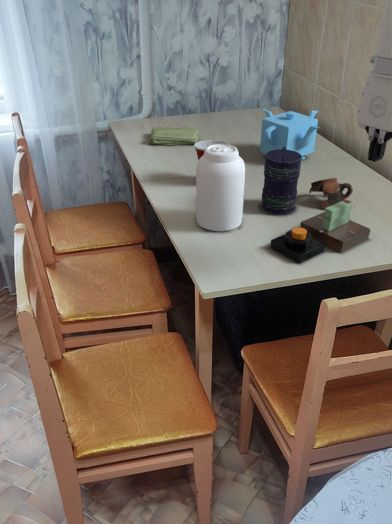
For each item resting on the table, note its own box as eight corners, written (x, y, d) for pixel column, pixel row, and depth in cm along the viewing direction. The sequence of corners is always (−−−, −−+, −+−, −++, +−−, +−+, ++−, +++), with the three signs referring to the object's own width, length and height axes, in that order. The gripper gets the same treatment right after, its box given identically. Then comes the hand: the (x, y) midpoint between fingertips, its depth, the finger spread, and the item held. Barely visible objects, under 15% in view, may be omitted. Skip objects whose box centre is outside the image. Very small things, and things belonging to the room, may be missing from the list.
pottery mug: (311, 211, 154) (307, 182, 153) (312, 212, 163) (308, 184, 162) (355, 203, 151) (351, 173, 150) (353, 204, 160) (349, 176, 159)
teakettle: (259, 166, 180) (263, 120, 170) (259, 146, 194) (263, 102, 184) (316, 168, 178) (323, 122, 169) (312, 148, 193) (319, 104, 183)
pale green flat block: (328, 231, 138) (332, 210, 134) (321, 228, 139) (325, 207, 135) (348, 222, 142) (352, 201, 138) (341, 219, 143) (345, 198, 139)
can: (194, 231, 144) (195, 156, 131) (197, 211, 153) (197, 139, 141) (242, 233, 143) (246, 158, 130) (241, 212, 153) (246, 140, 140)
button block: (323, 251, 136) (326, 237, 133) (299, 263, 131) (301, 249, 129) (294, 237, 142) (296, 223, 139) (270, 247, 137) (271, 233, 135)
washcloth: (198, 146, 194) (198, 136, 192) (149, 145, 194) (149, 136, 192) (198, 133, 204) (198, 125, 202) (151, 133, 204) (151, 125, 202)
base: (369, 238, 141) (372, 227, 139) (339, 253, 135) (341, 242, 133) (327, 219, 149) (329, 209, 147) (297, 233, 143) (299, 222, 141)
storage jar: (262, 199, 160) (267, 136, 148) (295, 201, 158) (303, 138, 147) (259, 214, 152) (264, 149, 141) (294, 216, 151) (303, 151, 139)
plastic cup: (220, 173, 175) (221, 135, 167) (233, 186, 167) (235, 147, 159) (188, 178, 172) (188, 139, 164) (200, 191, 164) (201, 151, 156)
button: (308, 237, 134) (309, 231, 133) (299, 242, 132) (300, 235, 131) (298, 232, 136) (298, 225, 135) (288, 236, 134) (289, 230, 133)
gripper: (350, 62, 109) (336, 154, 120) (416, 76, 100) (394, 173, 111) (373, 57, 112) (357, 147, 124) (438, 69, 103) (415, 165, 115)
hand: (374, 159), depth 118 cm, fingers closed
